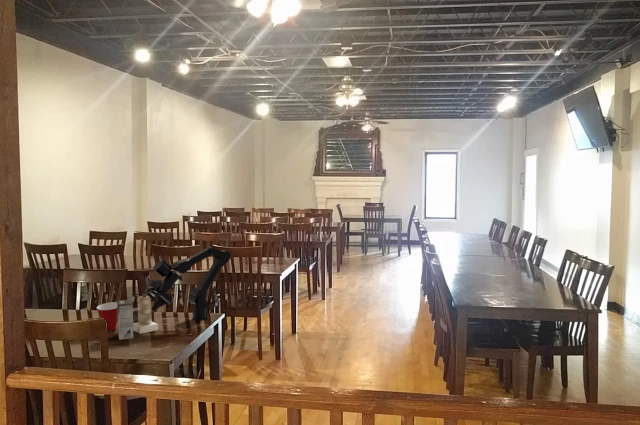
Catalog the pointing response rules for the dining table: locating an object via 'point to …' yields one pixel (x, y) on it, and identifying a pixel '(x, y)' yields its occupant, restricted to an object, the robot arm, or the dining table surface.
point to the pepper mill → (144, 310)
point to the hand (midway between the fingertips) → (147, 308)
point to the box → (135, 315)
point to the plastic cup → (109, 314)
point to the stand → (145, 327)
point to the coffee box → (125, 319)
